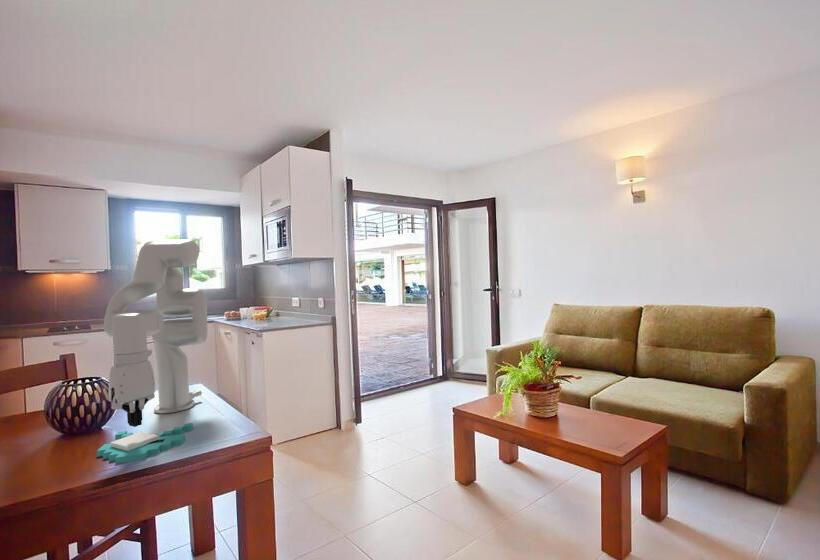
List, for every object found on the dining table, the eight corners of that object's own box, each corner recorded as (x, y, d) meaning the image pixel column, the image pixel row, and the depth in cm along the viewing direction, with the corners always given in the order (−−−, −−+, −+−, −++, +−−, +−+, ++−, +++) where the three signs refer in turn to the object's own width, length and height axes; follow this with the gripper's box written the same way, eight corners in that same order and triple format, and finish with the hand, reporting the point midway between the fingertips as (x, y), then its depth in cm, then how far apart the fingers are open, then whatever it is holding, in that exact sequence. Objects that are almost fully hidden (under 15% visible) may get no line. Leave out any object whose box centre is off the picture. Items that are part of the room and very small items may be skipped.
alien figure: (118, 439, 122) (85, 470, 103) (118, 432, 122) (84, 461, 103) (193, 430, 127) (174, 457, 108) (192, 422, 127) (173, 449, 108)
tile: (140, 431, 119) (110, 442, 111) (158, 435, 115) (127, 446, 108) (141, 435, 119) (110, 446, 111) (158, 439, 115) (128, 451, 108)
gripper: (150, 352, 121) (154, 414, 121) (92, 363, 108) (97, 433, 108) (166, 353, 118) (170, 417, 118) (109, 365, 104) (113, 437, 105)
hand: (135, 425), depth 113 cm, fingers closed
